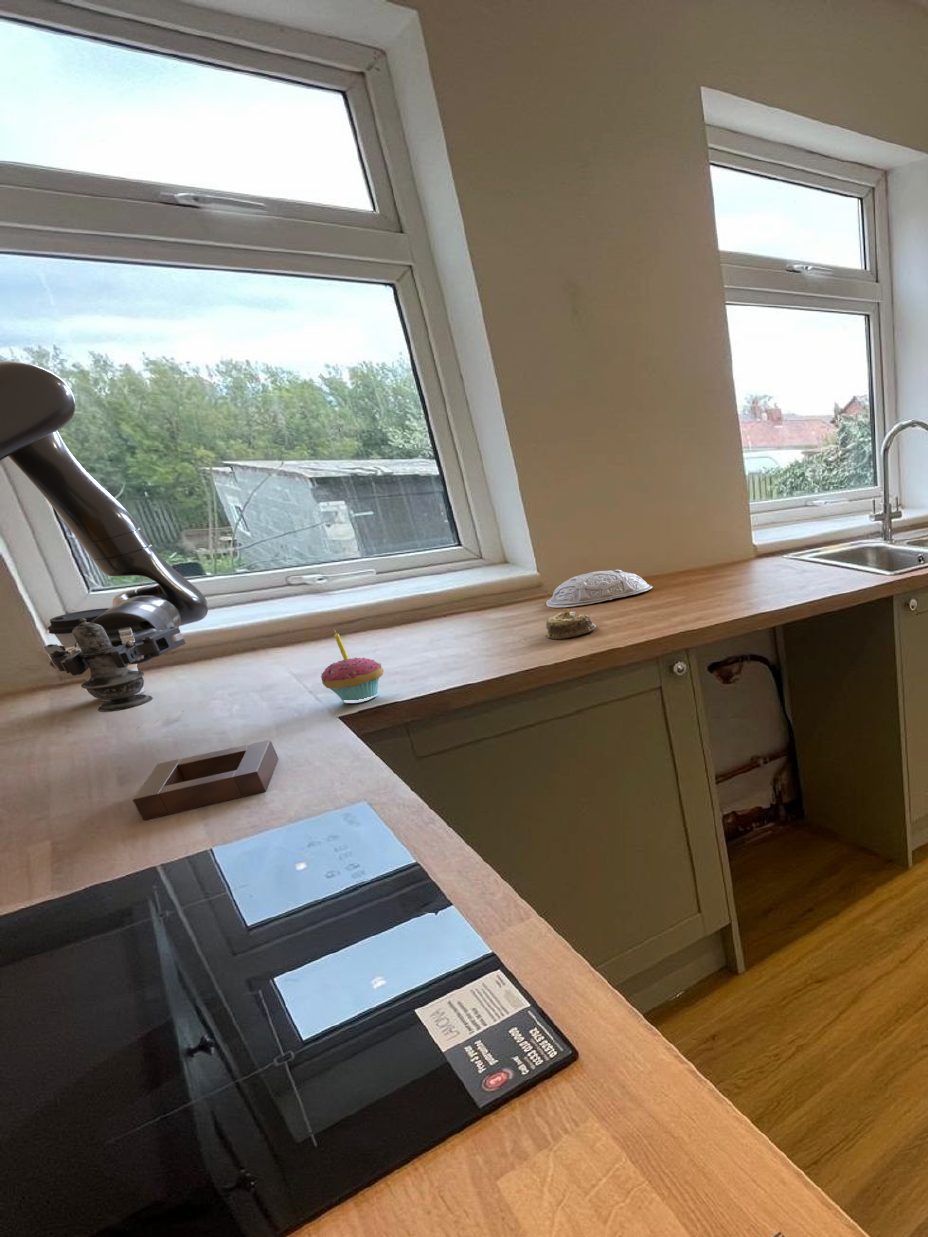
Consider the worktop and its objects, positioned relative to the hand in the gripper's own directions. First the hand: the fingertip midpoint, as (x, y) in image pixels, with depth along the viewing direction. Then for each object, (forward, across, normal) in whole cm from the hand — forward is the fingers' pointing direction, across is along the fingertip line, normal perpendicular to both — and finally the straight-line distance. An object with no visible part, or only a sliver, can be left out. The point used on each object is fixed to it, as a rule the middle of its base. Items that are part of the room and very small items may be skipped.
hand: (95, 663), depth 97 cm
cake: (-39, +58, +18) cm, 72 cm away
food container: (-68, +69, +18) cm, 98 cm away
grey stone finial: (-3, 0, +7) cm, 7 cm away
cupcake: (-21, +22, +18) cm, 35 cm away
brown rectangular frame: (+6, +7, +18) cm, 20 cm away
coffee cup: (-53, -15, +18) cm, 58 cm away
